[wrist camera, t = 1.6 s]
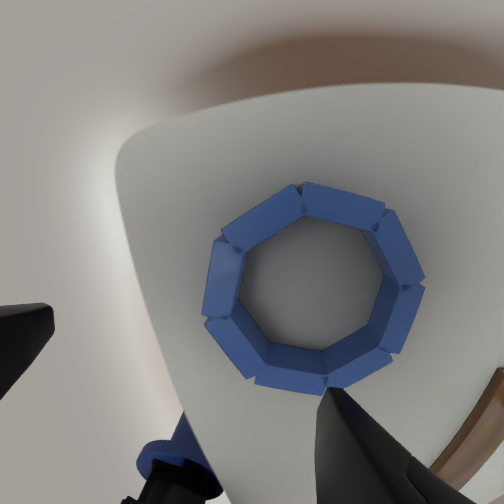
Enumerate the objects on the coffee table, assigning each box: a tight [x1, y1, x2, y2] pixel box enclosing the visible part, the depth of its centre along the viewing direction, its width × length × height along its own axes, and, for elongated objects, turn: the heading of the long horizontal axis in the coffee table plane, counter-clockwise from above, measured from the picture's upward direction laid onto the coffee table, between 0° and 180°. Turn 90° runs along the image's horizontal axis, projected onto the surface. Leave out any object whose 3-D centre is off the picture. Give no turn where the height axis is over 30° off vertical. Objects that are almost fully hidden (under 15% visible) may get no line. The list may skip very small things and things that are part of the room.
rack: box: [429, 368, 504, 491], centre depth 16 cm, size 8×20×8 cm, turn 168°
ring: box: [202, 182, 425, 396], centre depth 16 cm, size 12×12×3 cm
